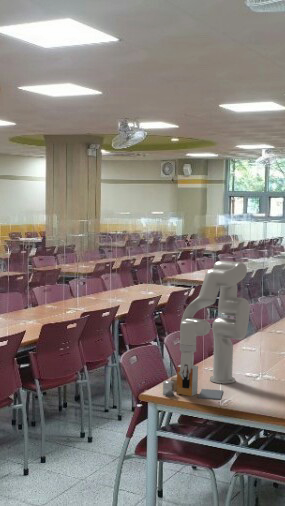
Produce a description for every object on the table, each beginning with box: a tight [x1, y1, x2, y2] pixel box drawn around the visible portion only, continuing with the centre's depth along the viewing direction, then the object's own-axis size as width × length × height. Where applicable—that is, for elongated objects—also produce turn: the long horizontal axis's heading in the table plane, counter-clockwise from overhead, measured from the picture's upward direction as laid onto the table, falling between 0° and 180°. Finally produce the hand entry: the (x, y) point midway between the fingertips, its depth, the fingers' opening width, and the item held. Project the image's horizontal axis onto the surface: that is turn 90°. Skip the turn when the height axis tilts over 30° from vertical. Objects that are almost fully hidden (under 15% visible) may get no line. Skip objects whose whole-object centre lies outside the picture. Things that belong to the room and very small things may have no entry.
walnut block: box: [170, 376, 177, 391], centre depth 308 cm, size 5×5×5 cm
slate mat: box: [197, 388, 224, 401], centre depth 299 cm, size 14×10×1 cm
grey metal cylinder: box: [162, 379, 175, 397], centre depth 298 cm, size 5×5×6 cm
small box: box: [175, 364, 199, 397], centre depth 300 cm, size 8×6×13 cm
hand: (187, 385), depth 300 cm, fingers closed on small box, 7 cm apart
